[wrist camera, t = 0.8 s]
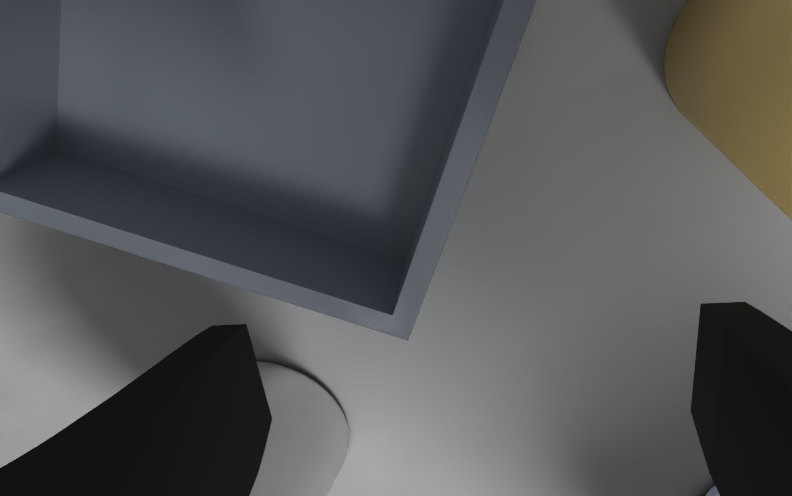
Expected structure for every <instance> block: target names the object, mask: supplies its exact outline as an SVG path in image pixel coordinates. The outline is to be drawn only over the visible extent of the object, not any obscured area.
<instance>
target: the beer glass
mask: <svg viewBox="0 0 792 496" xmlns="http://www.w3.org/2000/svg"><path fill="white" fill-rule="evenodd" d="M256 362H257V365H258V369H259V372H260V376H261V380H262V383H263V387H264V390H265V394H266V398H267V401H268V405H269V408H270V412H271V416H272V422H271V426H270V430H269V434H268V439H267V443H266V447H265V451H264V454H263V458H262V461H261V465H260V469H259V472H258V475H257V478H256V480H255V483H254V485H253V488H252V490H251V493H250V495H249V496H327V495H328V493H329V491H330V489H331V487H332V485H333V483H334V481H335V480H336V478H337V476H338V474H339V472H340V470H341V468H342V466H343V463H344V461H345V458H346V455H347V452H348V448H349V430H348V425H347V421H346V418H345V416H344V414H343V412H342V410H341V408H340V406H339V405H338V403H337V402H336V401H335V399H334V398H333V397H332V396H331V395H330V394H329V393H328V392H327V391H326V390H325V389H324V388H323V387H322V386H321V385H319V384H318V383H317V382H315V381H314V380H312V379H311V378H309V377H308V376H306V375H304V374H302V373H300V372H298V371H296V370H293V369H291V368H288V367H285V366H282V365H278V364H274V363H269V362H260V361H256Z"/></svg>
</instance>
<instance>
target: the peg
mask: <svg viewBox="0 0 792 496" xmlns="http://www.w3.org/2000/svg"><path fill="white" fill-rule="evenodd" d="M664 73H665V81H666V85H667V88H668V92H669V94H670V96H671V98H672V100H673V102H674V104H675V105H676V107H677V108H678V110H679V111H680V112H681V113H682V114H683V115H684V116H685V117H686V118H687V119H688V120H689V121H690V122H691V123H692V124H693V125H694V126H695V127H696V128H697V129H698V130H699V131H700V132H701V133H702V134H703V135H704V136H705V137H706V138H707V139H708V140H709V141H710V142H712V143H713V144H714V145H715V146H716V147H717V148H718V149H719V150H720V151H721V152H722V153H723V154H724V155H725V156H726V157H727V158H728V159H729V160H730V161H731V162H732V163H733V164H734V165H735V166H736V167H737V168H738V169H739V170H740V171H741V172H742V173H743V174H744V175H746V176H747V177H748V178H749V179H750V180H751V181H752V182H753V183H754V184H755V185H756V186H757V187H758V188H759V189H760V190H761V191H762V192H763V193H764V194H765V195H766V196H767V197H768V198H769V199H770V200H771V201H772V202H773V203H774V204H775V205H776V206H777V207H778V208H779V209H781V210H782V211H783V212H784V213H785V214H786V215H787V216H788V217H789V218H790V219H791V220H792V0H689V1H688V2H687V3H686V5H685V6H684V8H683V9H682V10H681V12H680V14H679V15H678V17H677V19H676V21H675V23H674V25H673V27H672V30H671V32H670V34H669V38H668V41H667V45H666V50H665V57H664Z"/></svg>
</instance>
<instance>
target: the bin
mask: <svg viewBox="0 0 792 496" xmlns="http://www.w3.org/2000/svg"><path fill="white" fill-rule="evenodd" d="M535 2H536V0H0V212H1V213H4V214H8V215H11V216H14V217H17V218H20V219H24V220H27V221H30V222H33V223H36V224H39V225H43V226H46V227H49V228H52V229H55V230H58V231H62V232H65V233H68V234H71V235H74V236H78V237H81V238H84V239H87V240H90V241H93V242H97V243H100V244H103V245H106V246H109V247H113V248H116V249H119V250H122V251H125V252H128V253H132V254H135V255H138V256H141V257H144V258H148V259H151V260H154V261H157V262H160V263H163V264H167V265H170V266H173V267H176V268H179V269H182V270H186V271H189V272H192V273H195V274H198V275H202V276H205V277H208V278H211V279H214V280H217V281H221V282H224V283H227V284H230V285H233V286H237V287H240V288H243V289H246V290H249V291H252V292H256V293H259V294H262V295H265V296H268V297H271V298H275V299H278V300H281V301H284V302H287V303H291V304H294V305H297V306H300V307H303V308H306V309H310V310H313V311H316V312H319V313H322V314H326V315H329V316H332V317H335V318H338V319H341V320H345V321H348V322H351V323H354V324H357V325H361V326H364V327H367V328H370V329H373V330H376V331H380V332H383V333H386V334H389V335H392V336H395V337H399V338H402V339H405V340H408V339H409V336H410V334H411V331H412V328H413V326H414V323H415V321H416V318H417V315H418V313H419V310H420V307H421V305H422V302H423V299H424V297H425V294H426V291H427V289H428V286H429V283H430V281H431V278H432V275H433V273H434V270H435V267H436V265H437V262H438V259H439V257H440V254H441V251H442V249H443V246H444V244H445V241H446V238H447V236H448V233H449V230H450V228H451V225H452V222H453V220H454V217H455V214H456V212H457V209H458V206H459V204H460V201H461V198H462V196H463V193H464V190H465V188H466V185H467V182H468V180H469V177H470V174H471V172H472V169H473V167H474V164H475V161H476V159H477V156H478V153H479V151H480V148H481V145H482V143H483V140H484V137H485V135H486V132H487V129H488V127H489V124H490V121H491V119H492V116H493V113H494V111H495V108H496V105H497V103H498V100H499V97H500V95H501V92H502V90H503V87H504V84H505V82H506V79H507V76H508V74H509V71H510V68H511V66H512V63H513V60H514V58H515V55H516V52H517V50H518V47H519V44H520V42H521V39H522V36H523V34H524V31H525V28H526V26H527V23H528V21H529V18H530V15H531V13H532V10H533V7H534V5H535Z"/></svg>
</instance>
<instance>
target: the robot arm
mask: <svg viewBox="0 0 792 496" xmlns="http://www.w3.org/2000/svg"><path fill="white" fill-rule="evenodd" d="M691 413H692V416H693V420H694V423H695V427H696V430H697V434H698V437H699V441H700V444H701V447H702V450H703V453H704V457H705V460H706V463H707V466H708V469H709V472H710V474H711V477H712V479H713V481H714V483H715V486H714V487H712V488H711V489H710V490H709V492H708V493H707V494H706V495H705V496H792V331H790V330H789V329H787V328H786V327H784V326H783V325H781V324H780V323H778V322H777V321H775V320H774V319H772V318H771V317H769V316H767V315H766V314H764V313H763V312H761V311H759V310H758V309H756V308H755V307H753V306H751V305H749V304H748V303H746V302H731V303H709V304H701V308H700V318H699V329H698V340H697V350H696V361H695V372H694V382H693V393H692V404H691ZM271 422H272V416H271V412H270V408H269V405H268V401H267V398H266V394H265V390H264V387H263V383H262V380H261V376H260V372H259V369H258V365H257V362H256V358H255V354H254V351H253V347H252V343H251V340H250V336H249V333H248V329H247V325H246V324H240V325H218V326H211V327H210V328H208V329H206V330H204V331H203V332H201V333H200V334H198V335H197V336H195V337H194V338H192V339H191V340H189V341H188V342H186V343H185V344H184V345H182V346H181V347H179V348H178V349H177V350H175V351H174V352H172V353H171V354H170V355H168V356H167V357H165V358H164V359H163V360H161V361H160V362H159V363H157V364H156V365H155V366H153V367H152V368H150V369H149V370H148V371H146V372H145V373H144V374H142V375H141V376H139V377H138V378H137V379H135V380H134V381H132V382H131V383H130V384H128V385H127V386H126V387H124V388H123V389H121V390H120V391H119V392H117V393H116V394H115V395H113V396H112V397H110V398H109V399H107V400H106V401H104V402H103V403H102V404H100V405H99V406H97V407H96V408H94V409H93V410H91V411H90V412H88V413H87V414H85V415H84V416H82V417H81V418H79V419H78V420H76V421H75V422H73V423H72V424H70V425H69V426H67V427H66V428H65V429H63V430H62V431H60V432H59V433H57V434H56V435H54V436H53V437H51V438H49V439H48V440H46V441H45V442H43V443H42V444H40V445H38V446H37V447H35V448H34V449H32V450H30V451H29V452H27V453H25V454H24V455H22V456H20V457H19V458H17V459H15V460H14V461H12V462H10V463H8V464H7V465H5V466H3V467H1V468H0V496H249V495H250V493H251V490H252V488H253V485H254V483H255V480H256V478H257V475H258V472H259V469H260V465H261V461H262V458H263V454H264V451H265V447H266V443H267V439H268V434H269V430H270V426H271Z"/></svg>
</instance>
